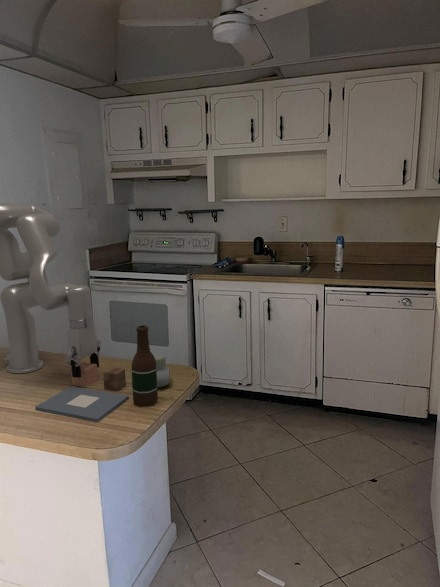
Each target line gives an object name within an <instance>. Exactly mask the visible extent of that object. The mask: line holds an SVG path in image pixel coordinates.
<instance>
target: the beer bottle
mask: <svg viewBox="0 0 440 587" xmlns="http://www.w3.org/2000/svg"><path fill="white" fill-rule="evenodd" d="M135 331H136V333H137V334H136V335H137V336H136V351H135V354H134V356H133V358H132V362H131V386H132V400H133V401H132V402H133V404H134V405H136V406H138V407H140V408H141V407H144V408H145V407H151V406H153V405H155V404H157V402H158V388H157V369H156V360H155V357H154V355H153V354H154V353H152V352H151V348H150V340H149V326H147V325H138V326H136V329H135Z"/></svg>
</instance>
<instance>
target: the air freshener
mask: <svg viewBox="0 0 440 587" xmlns="http://www.w3.org/2000/svg"><path fill="white" fill-rule="evenodd" d="M152 354H153V355H154V357H155V360H156V369H157V389H158V388H162V387H165V386H167V385H169V384H170V383H171V376H170V375H171V374H170V373H171V372H170V369H171V368H170V367H168V366H167V365H166V356H165V354H163V353H152Z"/></svg>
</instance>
